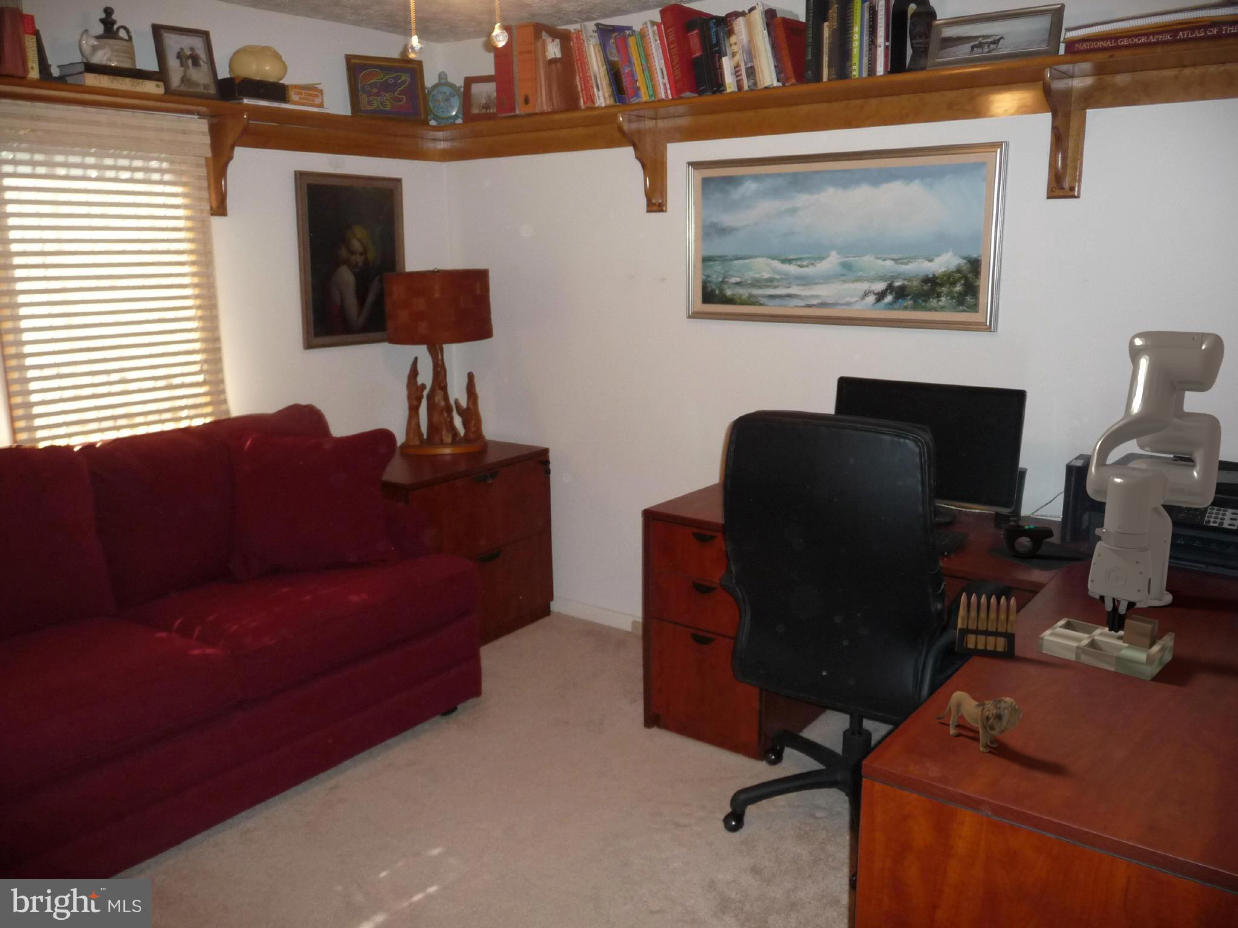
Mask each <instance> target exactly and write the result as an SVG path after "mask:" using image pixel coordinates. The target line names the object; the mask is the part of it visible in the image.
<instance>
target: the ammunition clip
mask: <svg viewBox="0 0 1238 928" xmlns="http://www.w3.org/2000/svg"><path fill="white" fill-rule="evenodd" d="M967 597H968V596H967V593H966V592H963V593H962V596H961V601H960V607H959V612H958V616H957V617H958V620H957V631H956V639H955V640H956V642H955V648H954V650H955V653H958V654H959V653H961V654H969V655H978V656H986V657H987V656H988V657H994V658H995V657H996V658H997V657H998V658H1005V659H1015V657H1016V656H1015V654H1016V630H1017V602H1016V598H1015V596H1013V597H1012V598H1011V601H1010V604H1009V609H1008V616H1007V599H1006V596H1005V595H1002V598H1001V599H1000V604H999V610H998V611H997V606H998V605H997V604H998V603H997V598H996V595H995V594H994V595H992V597H991V600H990V604H989V610H988V602H987V601H988V600H987V596H986V594H985V593H984V594H983V595H982V597H981V600H980V605H979V611H978V608H977V607H978V600H977V599H978V598H977V595H976V593H973V595H972V597H971V600H970V605H969V606H970V607H969V611H968V598H967ZM987 610H988V611H989V612H987ZM997 612H998V613H997ZM997 614H998V615H997Z"/></svg>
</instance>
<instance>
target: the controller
mask: <svg viewBox="0 0 1238 928" xmlns="http://www.w3.org/2000/svg"><path fill="white" fill-rule="evenodd" d="M1009 520H1010V522H1009V523H1007V524H1006V523H1005V524H1004V523H1003V524H1002V528H1003V529H1002V531H1001V533H1000V534H1001V536H1000V537H1001V539H1003V543H1004V546H1005V548H1006V549H1007V550H1008V551H1009V553H1010V554H1012V555H1014V556H1016V557H1019V558H1029V557H1032V556H1034V555H1036V554H1038V552H1039V551H1040V550H1041V549H1042V546H1043V543H1044V541H1045V540H1048V539H1052V538H1053V537H1054V536H1055V534H1054V531H1053V529H1052V528H1051V527H1049V526H1038V525H1037V526H1036V525H1029V524H1024V525H1022V524H1020V523H1018V521H1019V518H1018V517H1015V516H1013V517H1010V518H1009ZM1021 538H1026V539H1027V538H1028V539H1029V541H1030V546H1029V547H1028V548H1027V549H1025V550H1020V549H1018V548H1017V547H1016V542H1017V540H1020V539H1021Z"/></svg>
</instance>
